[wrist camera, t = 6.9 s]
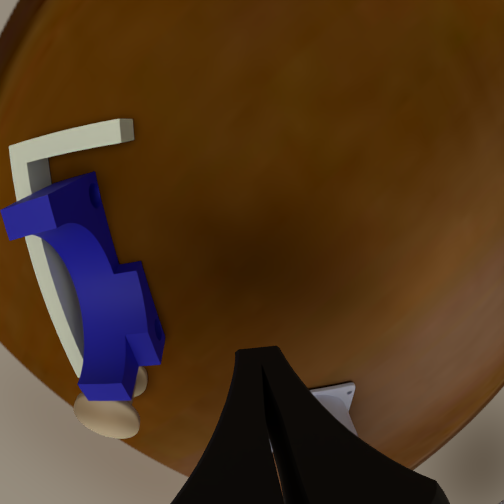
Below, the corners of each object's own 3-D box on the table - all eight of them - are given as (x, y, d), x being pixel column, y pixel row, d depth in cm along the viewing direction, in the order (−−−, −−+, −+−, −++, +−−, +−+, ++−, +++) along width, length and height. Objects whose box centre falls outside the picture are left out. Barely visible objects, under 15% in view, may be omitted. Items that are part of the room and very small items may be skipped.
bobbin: (153, 392, 23) (147, 440, 18) (102, 390, 23) (89, 435, 18) (139, 349, 21) (126, 399, 17) (83, 349, 21) (62, 395, 16)
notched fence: (171, 355, 22) (167, 379, 19) (87, 355, 21) (77, 377, 19) (132, 118, 15) (119, 118, 13) (30, 141, 15) (8, 146, 12)
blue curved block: (165, 335, 21) (155, 399, 16) (109, 341, 21) (88, 400, 15) (118, 165, 16) (76, 186, 11) (55, 182, 16) (0, 210, 11)
